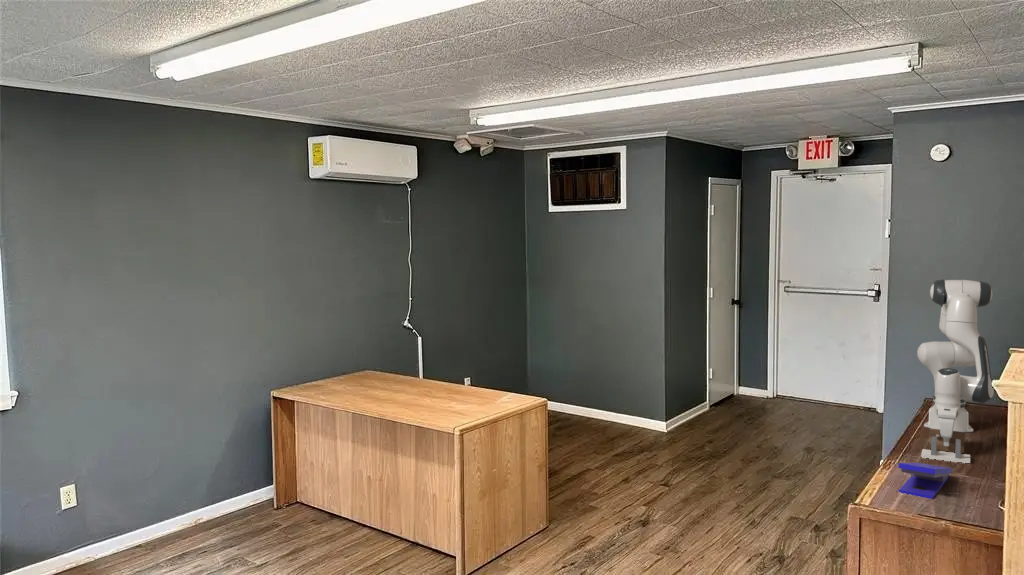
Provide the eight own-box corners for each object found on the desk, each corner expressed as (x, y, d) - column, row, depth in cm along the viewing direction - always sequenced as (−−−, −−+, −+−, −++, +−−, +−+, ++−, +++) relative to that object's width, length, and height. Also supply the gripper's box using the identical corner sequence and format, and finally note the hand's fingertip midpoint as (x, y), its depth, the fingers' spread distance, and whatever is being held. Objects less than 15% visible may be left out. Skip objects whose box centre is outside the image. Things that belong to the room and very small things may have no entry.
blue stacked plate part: (896, 493, 244) (897, 464, 243) (915, 472, 265) (916, 445, 265) (935, 500, 236) (936, 471, 236) (952, 478, 258) (952, 451, 257)
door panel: (929, 447, 295) (929, 428, 294) (963, 451, 289) (964, 432, 288) (928, 450, 292) (929, 430, 291) (963, 454, 285) (964, 434, 285)
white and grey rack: (922, 452, 288) (922, 435, 287) (970, 458, 279) (970, 440, 279) (921, 457, 281) (921, 440, 281) (970, 464, 273) (970, 445, 272)
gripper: (939, 403, 300) (938, 436, 301) (937, 413, 283) (936, 448, 283) (956, 405, 297) (956, 438, 297) (956, 415, 279) (955, 451, 280)
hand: (946, 443), depth 290 cm, fingers open, 5 cm apart
